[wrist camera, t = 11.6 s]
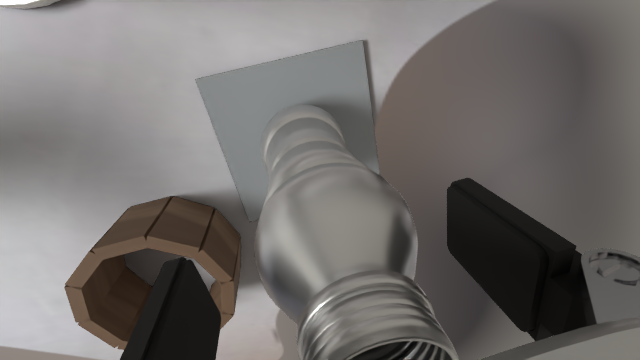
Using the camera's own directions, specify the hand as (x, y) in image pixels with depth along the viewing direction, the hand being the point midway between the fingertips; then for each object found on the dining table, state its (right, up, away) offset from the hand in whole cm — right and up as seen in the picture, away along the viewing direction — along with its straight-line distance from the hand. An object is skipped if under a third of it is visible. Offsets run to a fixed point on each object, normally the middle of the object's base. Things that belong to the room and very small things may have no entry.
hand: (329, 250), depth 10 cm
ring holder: (-14, -4, +17) cm, 23 cm away
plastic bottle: (-2, +6, +14) cm, 16 cm away
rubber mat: (-2, +6, +15) cm, 16 cm away
